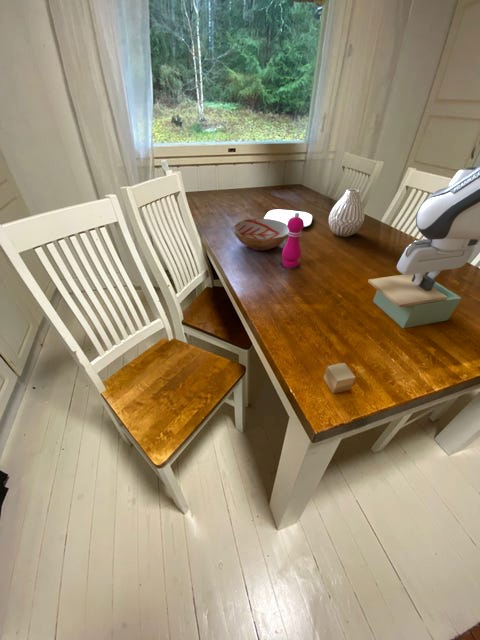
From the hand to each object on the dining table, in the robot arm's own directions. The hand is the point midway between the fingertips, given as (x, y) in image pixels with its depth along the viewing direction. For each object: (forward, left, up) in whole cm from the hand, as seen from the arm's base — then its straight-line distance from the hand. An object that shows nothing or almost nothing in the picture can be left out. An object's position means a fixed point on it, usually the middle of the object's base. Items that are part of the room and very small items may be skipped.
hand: (422, 283), depth 79 cm
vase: (+62, -14, -10) cm, 64 cm away
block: (-20, +37, -10) cm, 43 cm away
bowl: (+58, +30, -10) cm, 66 cm away
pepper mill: (+38, +24, -10) cm, 46 cm away
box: (0, 0, -10) cm, 10 cm away
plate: (+86, +5, -10) cm, 87 cm away
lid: (0, +5, -2) cm, 5 cm away
